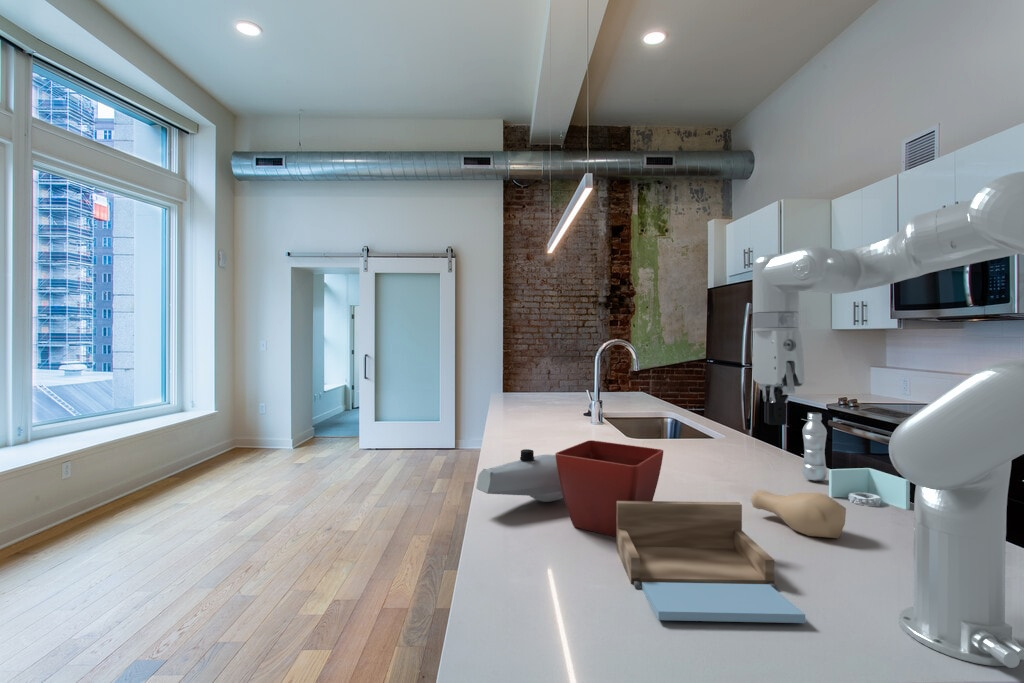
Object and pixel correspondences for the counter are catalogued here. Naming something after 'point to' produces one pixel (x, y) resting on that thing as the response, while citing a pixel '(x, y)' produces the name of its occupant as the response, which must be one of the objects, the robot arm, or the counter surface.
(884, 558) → the counter surface
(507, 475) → the street light
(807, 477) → the plastic bottle
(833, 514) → the squash
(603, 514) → the plant pot
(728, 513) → the box
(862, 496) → the l-shaped corner panel
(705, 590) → the panel
